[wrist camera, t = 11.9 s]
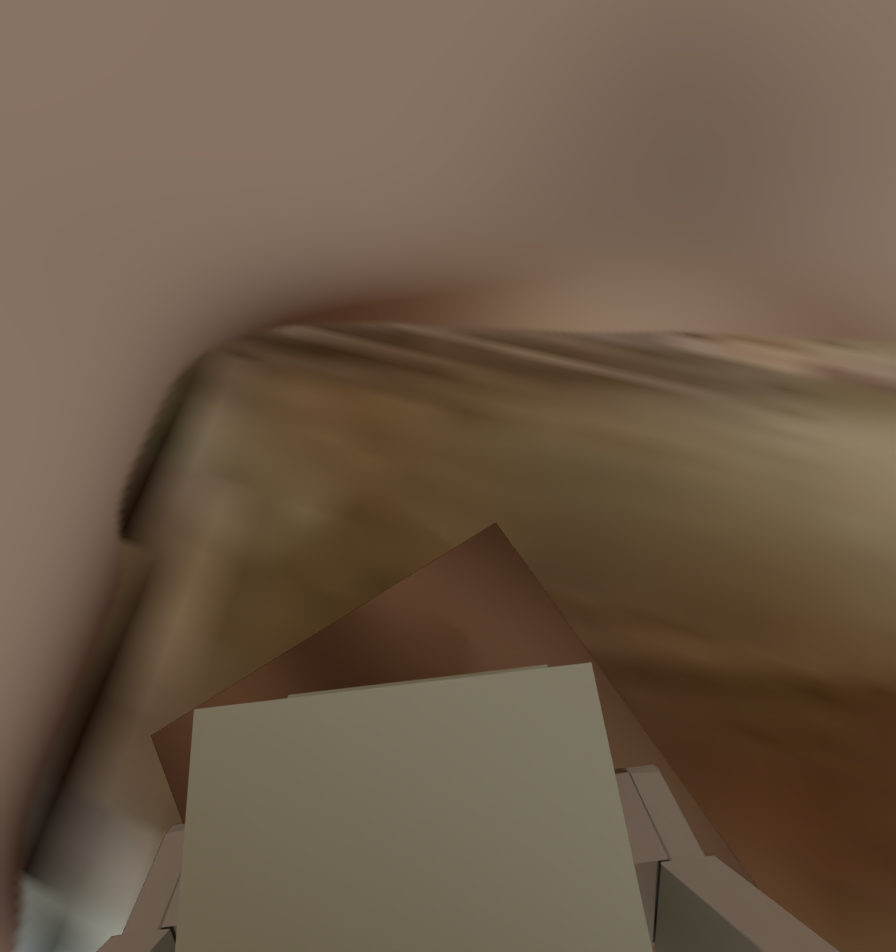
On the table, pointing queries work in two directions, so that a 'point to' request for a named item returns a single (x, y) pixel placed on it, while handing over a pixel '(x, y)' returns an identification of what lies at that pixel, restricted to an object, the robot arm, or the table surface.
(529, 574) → the walnut riser
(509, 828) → the sage block
